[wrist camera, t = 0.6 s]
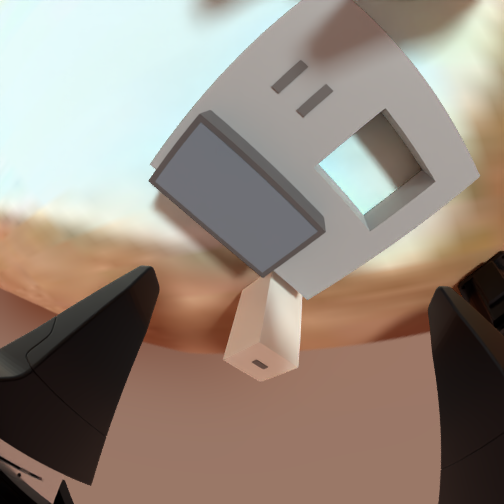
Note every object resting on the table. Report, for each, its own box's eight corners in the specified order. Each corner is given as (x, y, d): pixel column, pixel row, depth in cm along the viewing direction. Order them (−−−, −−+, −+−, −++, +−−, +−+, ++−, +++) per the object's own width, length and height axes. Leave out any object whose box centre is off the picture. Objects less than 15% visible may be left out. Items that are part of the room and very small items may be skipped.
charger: (302, 294, 25) (298, 368, 19) (271, 313, 27) (260, 382, 21) (272, 268, 24) (259, 342, 18) (242, 290, 26) (222, 360, 20)
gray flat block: (323, 217, 18) (326, 232, 16) (266, 261, 21) (262, 278, 19) (210, 109, 15) (199, 113, 13) (161, 170, 18) (147, 181, 16)
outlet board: (464, 164, 16) (480, 176, 14) (307, 280, 24) (307, 300, 22) (325, -8, 11) (328, -20, 9) (165, 154, 20) (149, 164, 18)
